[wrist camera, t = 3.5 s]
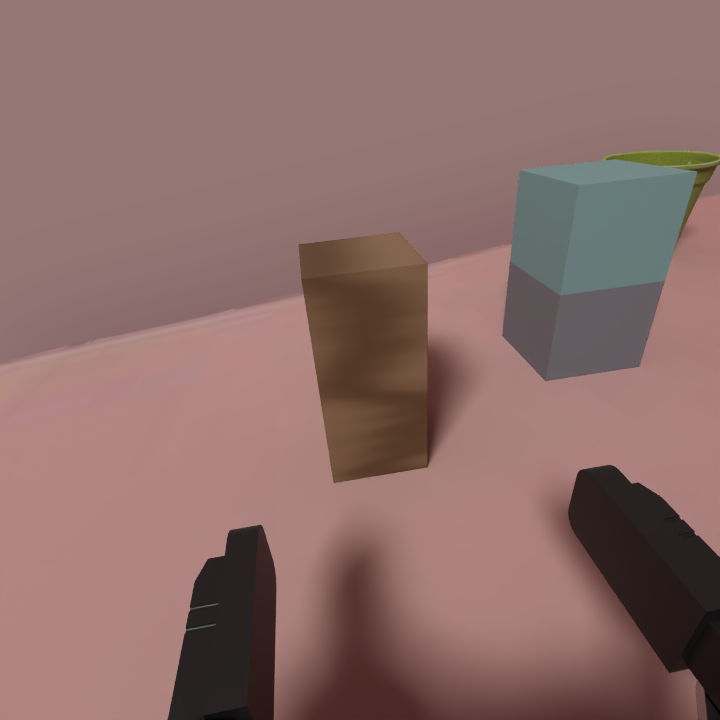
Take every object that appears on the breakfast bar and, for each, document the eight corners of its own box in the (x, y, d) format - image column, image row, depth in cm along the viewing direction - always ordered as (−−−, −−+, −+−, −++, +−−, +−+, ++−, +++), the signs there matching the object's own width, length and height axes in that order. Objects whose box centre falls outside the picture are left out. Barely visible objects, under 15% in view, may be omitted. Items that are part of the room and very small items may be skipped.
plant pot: (716, 253, 41) (752, 154, 37) (644, 273, 38) (672, 168, 34) (630, 233, 49) (651, 148, 44) (564, 248, 46) (579, 159, 42)
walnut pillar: (405, 410, 24) (399, 232, 19) (427, 467, 20) (427, 263, 15) (326, 422, 24) (298, 244, 19) (333, 482, 20) (301, 279, 15)
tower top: (596, 250, 28) (615, 159, 26) (664, 280, 23) (697, 171, 20) (510, 261, 28) (519, 169, 25) (560, 295, 23) (579, 185, 20)
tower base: (581, 324, 31) (596, 250, 28) (639, 366, 26) (664, 281, 23) (502, 336, 31) (510, 261, 28) (545, 381, 26) (560, 295, 23)
